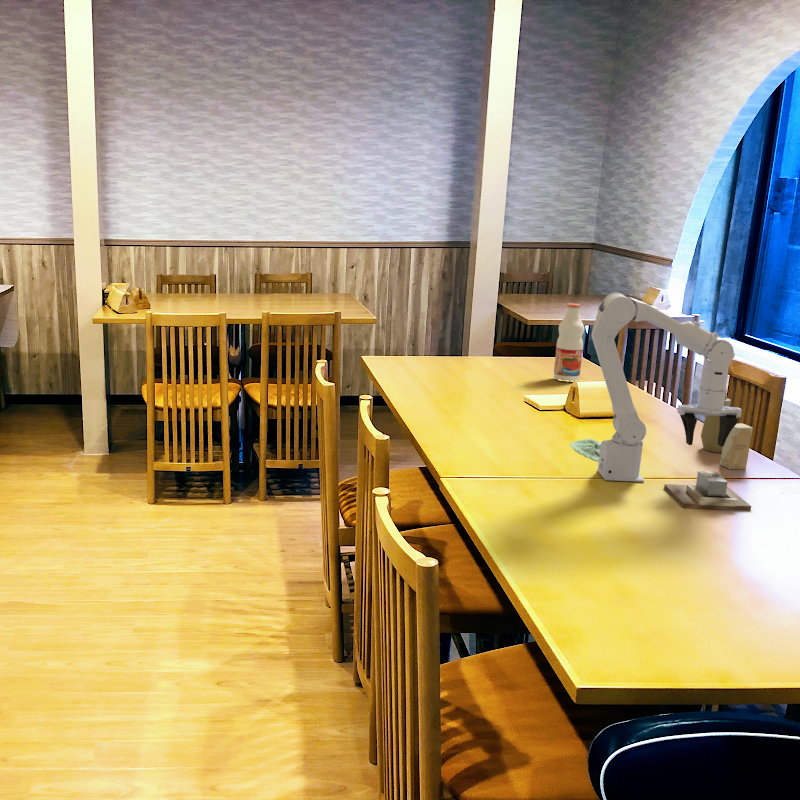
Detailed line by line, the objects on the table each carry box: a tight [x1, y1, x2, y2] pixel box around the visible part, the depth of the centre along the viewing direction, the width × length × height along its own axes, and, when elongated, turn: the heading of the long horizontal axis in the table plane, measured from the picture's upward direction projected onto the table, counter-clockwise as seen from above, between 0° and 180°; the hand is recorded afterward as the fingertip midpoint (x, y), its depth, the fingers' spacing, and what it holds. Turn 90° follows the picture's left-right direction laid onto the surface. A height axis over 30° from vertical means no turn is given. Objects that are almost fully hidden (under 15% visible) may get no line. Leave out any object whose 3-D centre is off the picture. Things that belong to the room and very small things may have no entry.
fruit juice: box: [553, 302, 585, 381], centre depth 318 cm, size 9×9×28 cm
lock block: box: [695, 470, 728, 498], centre depth 196 cm, size 4×7×5 cm, turn 2°
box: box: [719, 422, 754, 470], centre depth 223 cm, size 5×4×11 cm
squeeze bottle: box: [700, 390, 732, 453], centre depth 237 cm, size 8×8×18 cm
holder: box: [663, 483, 752, 511], centre depth 198 cm, size 15×14×2 cm
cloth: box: [569, 438, 602, 463], centre depth 231 cm, size 20×22×2 cm
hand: (704, 444), depth 208 cm, fingers open, 7 cm apart
